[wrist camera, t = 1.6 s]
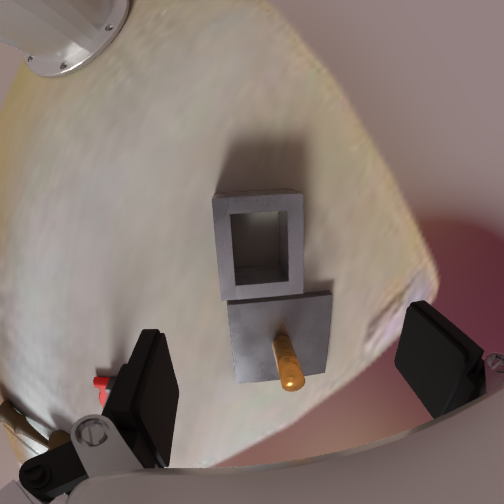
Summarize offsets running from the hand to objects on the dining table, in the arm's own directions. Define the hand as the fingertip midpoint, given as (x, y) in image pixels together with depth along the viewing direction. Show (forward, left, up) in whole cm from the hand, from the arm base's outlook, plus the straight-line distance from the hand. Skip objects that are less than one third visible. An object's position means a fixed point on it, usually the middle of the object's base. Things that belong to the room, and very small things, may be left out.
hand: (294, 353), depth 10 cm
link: (0, 0, -16) cm, 16 cm away
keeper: (+11, +2, -16) cm, 20 cm away
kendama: (+32, -38, -17) cm, 52 cm away
